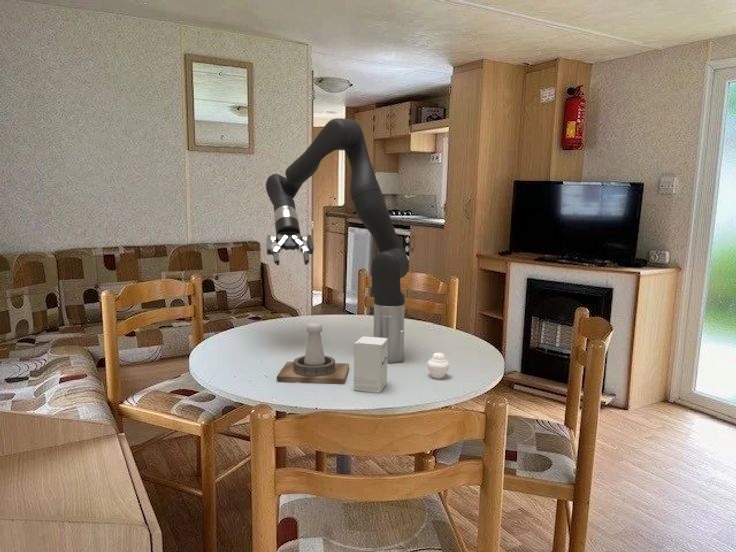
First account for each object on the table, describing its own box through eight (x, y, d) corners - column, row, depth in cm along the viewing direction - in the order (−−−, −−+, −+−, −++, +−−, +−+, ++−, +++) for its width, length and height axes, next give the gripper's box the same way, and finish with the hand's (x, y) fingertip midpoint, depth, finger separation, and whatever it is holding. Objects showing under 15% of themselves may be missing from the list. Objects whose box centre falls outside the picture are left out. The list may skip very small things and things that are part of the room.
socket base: (349, 368, 153) (349, 355, 152) (344, 384, 140) (344, 369, 139) (287, 366, 154) (287, 353, 153) (276, 381, 141) (276, 367, 141)
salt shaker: (310, 365, 151) (310, 320, 149) (328, 367, 149) (328, 322, 147) (300, 371, 145) (300, 324, 143) (319, 374, 143) (319, 326, 141)
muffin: (436, 371, 151) (437, 347, 150) (453, 377, 147) (454, 352, 146) (421, 376, 147) (422, 351, 146) (438, 382, 143) (439, 356, 142)
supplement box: (380, 393, 134) (381, 344, 132) (352, 390, 136) (353, 342, 134) (387, 384, 141) (388, 337, 139) (360, 381, 143) (361, 335, 141)
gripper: (264, 215, 165) (269, 256, 156) (310, 215, 169) (317, 255, 160) (263, 231, 171) (267, 271, 162) (307, 231, 175) (314, 270, 166)
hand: (292, 263), depth 161 cm, fingers open, 8 cm apart
